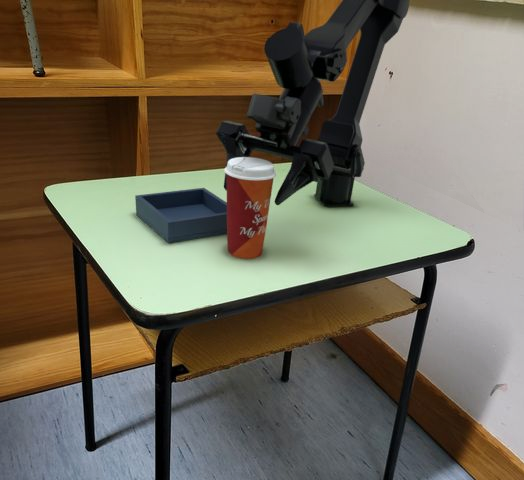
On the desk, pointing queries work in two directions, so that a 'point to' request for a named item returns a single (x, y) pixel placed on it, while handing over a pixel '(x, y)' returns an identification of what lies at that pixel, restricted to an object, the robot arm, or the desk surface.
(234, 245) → the paper cup
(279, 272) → the desk surface
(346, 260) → the desk surface
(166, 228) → the open square box
